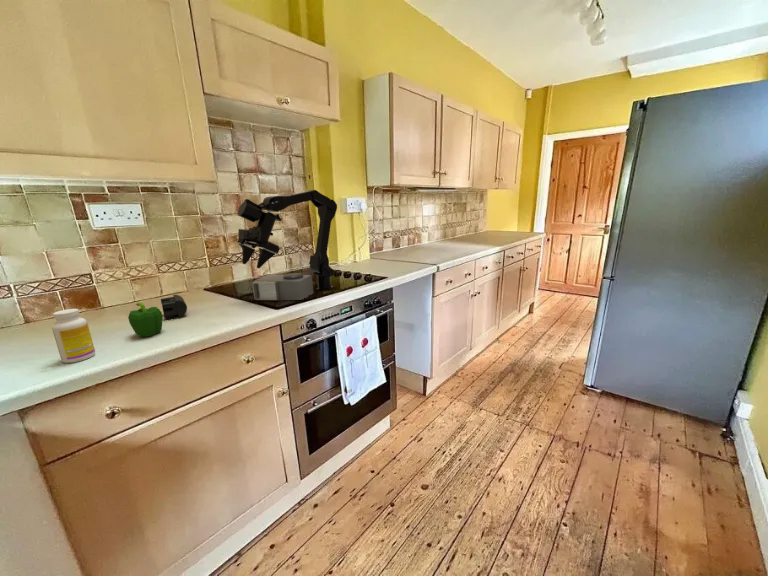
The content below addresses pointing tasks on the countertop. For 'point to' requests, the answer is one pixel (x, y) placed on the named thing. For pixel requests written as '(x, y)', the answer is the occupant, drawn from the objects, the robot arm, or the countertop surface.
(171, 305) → the end cap
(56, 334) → the supplement bottle
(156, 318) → the bell pepper
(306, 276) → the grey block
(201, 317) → the countertop surface
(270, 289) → the side door
